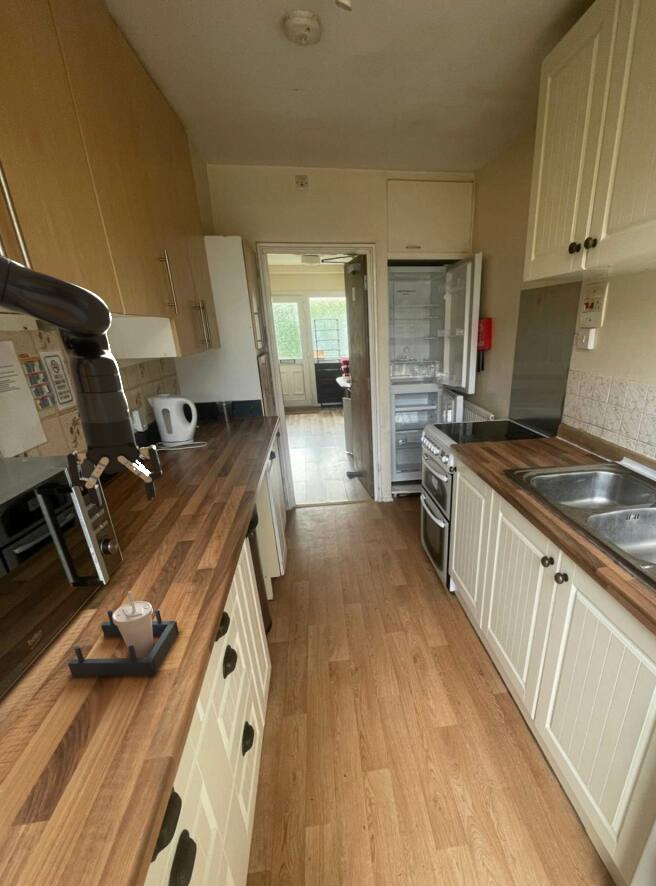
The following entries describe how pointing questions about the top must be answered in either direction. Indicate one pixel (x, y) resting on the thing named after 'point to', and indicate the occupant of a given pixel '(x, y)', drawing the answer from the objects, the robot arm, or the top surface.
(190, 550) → the top surface
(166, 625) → the rack
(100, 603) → the top surface
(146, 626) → the smoothie
